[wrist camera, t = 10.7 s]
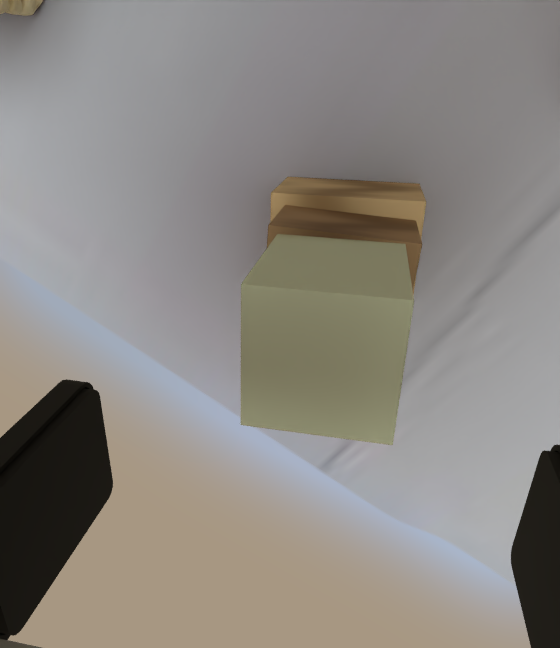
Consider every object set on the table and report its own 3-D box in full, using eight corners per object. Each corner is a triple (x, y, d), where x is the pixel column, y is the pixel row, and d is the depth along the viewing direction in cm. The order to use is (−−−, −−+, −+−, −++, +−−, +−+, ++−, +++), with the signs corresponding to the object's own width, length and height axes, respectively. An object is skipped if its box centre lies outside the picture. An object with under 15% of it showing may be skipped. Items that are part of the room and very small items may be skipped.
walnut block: (416, 220, 24) (422, 244, 20) (393, 339, 26) (394, 379, 23) (285, 204, 24) (268, 224, 21) (275, 321, 27) (258, 357, 23)
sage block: (405, 243, 20) (414, 300, 15) (389, 358, 22) (392, 444, 17) (277, 233, 21) (241, 284, 15) (273, 345, 23) (240, 425, 18)
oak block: (419, 183, 28) (426, 201, 23) (402, 305, 31) (406, 343, 26) (288, 176, 29) (270, 192, 24) (284, 295, 32) (268, 329, 27)
